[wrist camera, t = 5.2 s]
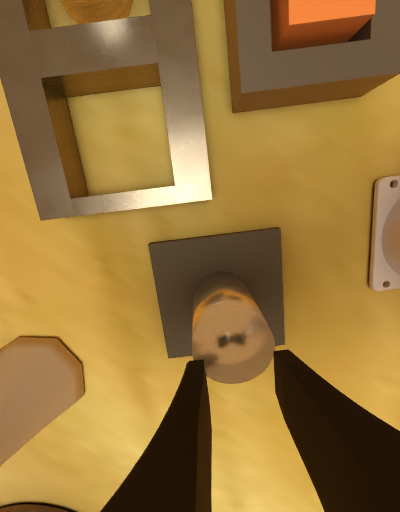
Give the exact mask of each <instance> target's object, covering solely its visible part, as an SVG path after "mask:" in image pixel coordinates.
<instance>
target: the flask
mask: <svg viewBox="0 0 400 512" xmlns="http://www.w3.org/2000/svg"><path fill="white" fill-rule="evenodd" d="M83 395H84V384H83V373H82V364H81V363H80V362H79V361H78V360H77V359H76V358H75V357H74V356H73V355H72V354H71V353H70V352H69V351H68V350H67V348H66V347H65V346H64V345H63V344H62V343H61V342H60V341H59V340H58V339H57V338H31V337H18V338H17V339H15V340H14V341H12V342H11V343H9V344H8V345H6V346H5V347H4V348H2V349H1V350H0V466H1V465H2V464H3V463H4V462H5V461H7V460H8V459H9V458H10V457H11V456H12V455H13V454H15V453H16V452H17V451H18V450H19V449H20V448H22V447H23V446H24V445H25V444H26V443H27V442H28V441H30V440H31V439H32V438H33V437H34V436H35V435H37V434H38V433H39V432H40V431H41V430H42V429H44V428H45V427H46V426H47V425H48V424H50V423H51V422H52V421H53V420H54V419H56V418H57V417H58V416H59V415H61V414H62V413H63V412H64V411H66V410H67V409H68V408H69V407H70V406H72V405H73V404H74V403H75V402H76V401H78V400H79V399H80V398H81V397H82V396H83Z"/></svg>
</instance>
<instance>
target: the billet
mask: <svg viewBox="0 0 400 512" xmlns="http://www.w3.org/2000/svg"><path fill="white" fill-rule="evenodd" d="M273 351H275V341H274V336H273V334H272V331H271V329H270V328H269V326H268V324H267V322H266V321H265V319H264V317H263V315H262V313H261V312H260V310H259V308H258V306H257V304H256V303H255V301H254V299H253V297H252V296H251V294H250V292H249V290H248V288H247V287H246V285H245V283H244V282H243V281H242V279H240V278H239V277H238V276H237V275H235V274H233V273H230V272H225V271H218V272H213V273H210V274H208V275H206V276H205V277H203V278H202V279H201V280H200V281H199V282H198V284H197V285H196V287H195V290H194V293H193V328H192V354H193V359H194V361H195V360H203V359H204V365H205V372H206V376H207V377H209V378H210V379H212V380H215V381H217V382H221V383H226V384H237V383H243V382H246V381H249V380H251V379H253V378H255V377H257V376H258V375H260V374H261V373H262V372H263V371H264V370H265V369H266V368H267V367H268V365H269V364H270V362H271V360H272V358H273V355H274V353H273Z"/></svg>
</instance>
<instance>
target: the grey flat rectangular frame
mask: <svg viewBox="0 0 400 512" xmlns="http://www.w3.org/2000/svg"><path fill="white" fill-rule="evenodd" d="M149 2H150V10H151V15H147V16H140V17H132V18H124V19H117V20H109V21H102V22H94V23H87V24H79V25H71V26H64V27H56V28H50V24H49V20H48V15H47V11H46V6H45V2H44V0H0V78H1V82H2V85H3V89H4V92H5V96H6V99H7V103H8V107H9V110H10V114H11V117H12V121H13V124H14V128H15V131H16V135H17V138H18V142H19V145H20V149H21V153H22V156H23V160H24V163H25V167H26V170H27V174H28V177H29V181H30V184H31V188H32V192H33V195H34V199H35V202H36V206H37V209H38V213H39V216H40V220H41V221H42V220H50V219H58V218H66V217H74V216H82V215H90V214H98V213H106V212H114V211H122V210H130V209H138V208H147V207H155V206H163V205H171V204H179V203H187V202H195V201H203V200H211V199H212V193H211V183H210V174H209V164H208V155H207V145H206V136H205V126H204V117H203V107H202V98H201V88H200V79H199V69H198V60H197V50H196V41H195V31H194V22H193V12H192V3H191V0H149ZM158 85H161V88H162V95H163V102H164V109H165V117H166V124H167V131H168V138H169V145H170V152H171V159H172V167H173V174H174V181H175V186H169V187H161V188H153V189H145V190H137V191H129V192H121V193H113V194H105V195H97V196H89V195H88V191H87V187H86V182H85V178H84V173H83V169H82V165H81V160H80V156H79V151H78V147H77V143H76V138H75V134H74V129H73V125H72V121H71V116H70V112H69V107H68V103H67V99H66V97H73V96H80V95H88V94H96V93H104V92H111V91H119V90H127V89H135V88H142V87H150V86H158Z"/></svg>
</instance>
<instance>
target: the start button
mask: <svg viewBox="0 0 400 512" xmlns="http://www.w3.org/2000/svg"><path fill="white" fill-rule="evenodd" d="M375 5H376V0H270V17H271V43H272V52H276V51H284V50H291V49H299V48H307V47H315V46H322V45H330V44H338V43H345V42H348V40H349V39H350V38H351V37H352V36H353V35H354V34H355V33H356V32H357V31H358V30H359V29H360V28H361V27H362V26H363V25H364V24H365V23H366V22H367V21H368V20H369V19H370V18H371V17H372V16H373V15H374V14H375Z"/></svg>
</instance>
